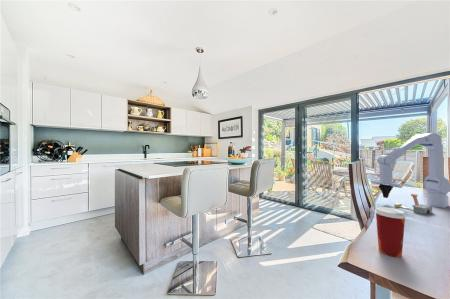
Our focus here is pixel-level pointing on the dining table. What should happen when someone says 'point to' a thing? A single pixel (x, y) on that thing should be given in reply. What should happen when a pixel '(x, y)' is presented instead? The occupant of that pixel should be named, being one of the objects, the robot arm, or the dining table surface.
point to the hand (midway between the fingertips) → (385, 197)
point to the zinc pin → (403, 206)
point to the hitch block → (422, 209)
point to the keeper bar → (415, 199)
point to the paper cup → (390, 230)
